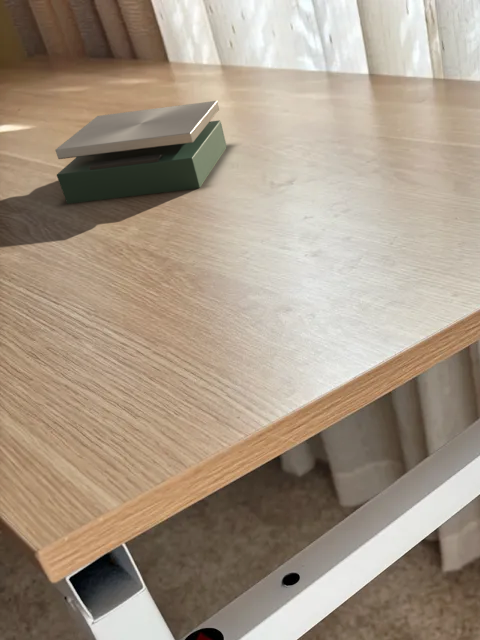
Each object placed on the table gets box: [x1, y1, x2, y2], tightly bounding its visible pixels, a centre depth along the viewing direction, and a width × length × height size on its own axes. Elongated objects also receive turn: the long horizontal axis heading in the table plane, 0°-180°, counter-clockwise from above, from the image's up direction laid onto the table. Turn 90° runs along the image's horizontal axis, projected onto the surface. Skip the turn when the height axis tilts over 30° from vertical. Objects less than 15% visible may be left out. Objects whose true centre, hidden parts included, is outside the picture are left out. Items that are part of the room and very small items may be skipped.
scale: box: [56, 119, 228, 205], centre depth 75 cm, size 12×13×3 cm
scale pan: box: [54, 100, 220, 160], centre depth 74 cm, size 12×12×1 cm
